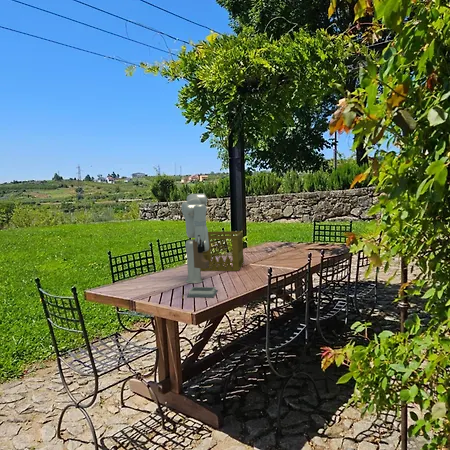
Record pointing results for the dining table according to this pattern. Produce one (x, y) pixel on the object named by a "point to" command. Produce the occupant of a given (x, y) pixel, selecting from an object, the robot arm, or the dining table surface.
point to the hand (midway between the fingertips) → (201, 251)
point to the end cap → (202, 292)
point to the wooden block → (199, 258)
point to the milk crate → (236, 251)
